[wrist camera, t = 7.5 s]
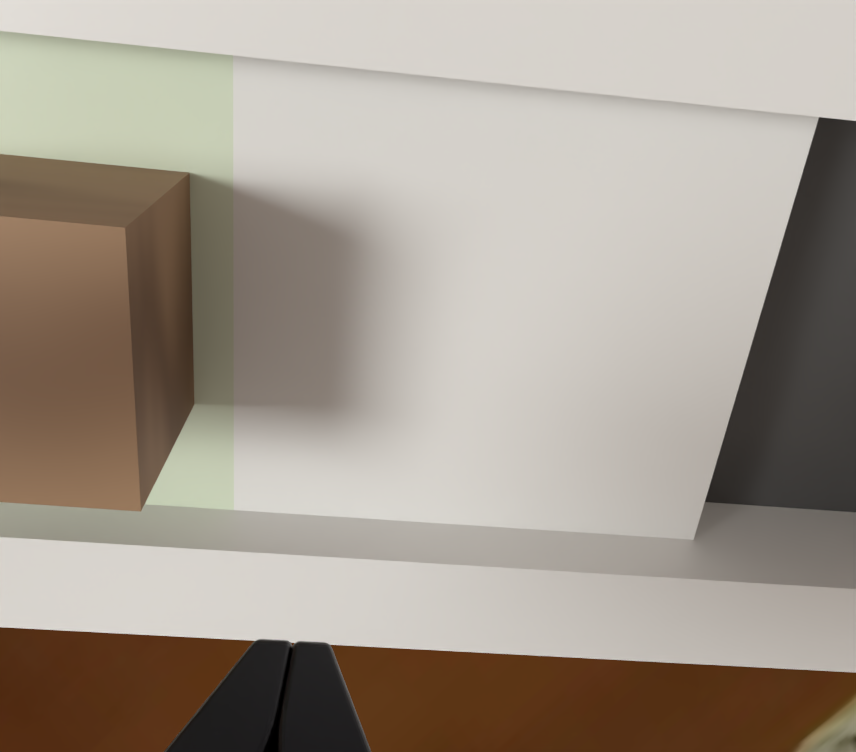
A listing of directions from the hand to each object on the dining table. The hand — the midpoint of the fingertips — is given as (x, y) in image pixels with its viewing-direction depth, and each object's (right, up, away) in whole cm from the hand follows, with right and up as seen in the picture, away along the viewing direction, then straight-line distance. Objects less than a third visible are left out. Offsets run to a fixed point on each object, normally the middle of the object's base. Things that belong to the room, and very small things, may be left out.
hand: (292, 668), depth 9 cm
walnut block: (-6, +5, +7) cm, 10 cm away
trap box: (-1, +5, +9) cm, 11 cm away
